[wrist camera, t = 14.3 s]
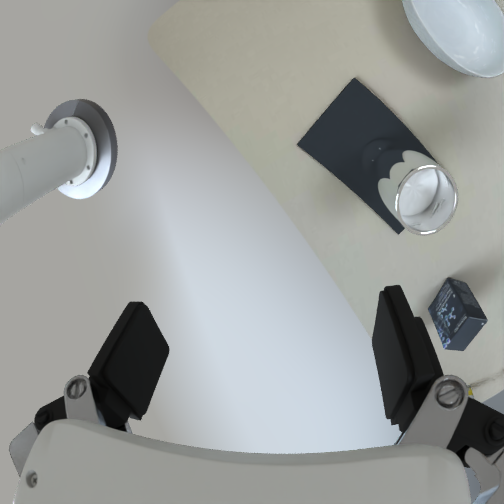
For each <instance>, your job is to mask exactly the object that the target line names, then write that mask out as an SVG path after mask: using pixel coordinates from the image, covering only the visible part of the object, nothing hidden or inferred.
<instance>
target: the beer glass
mask: <svg viewBox="0 0 504 504" xmlns="http://www.w3.org/2000/svg"><path fill="white" fill-rule="evenodd" d="M361 165H362V169H363V171H364V173H365V174H366V176H367V177H368V178H369V179H371V180H372V181H374V182H375V184H376V188H377V190H378V193H379V195H380V197H381V199H382V201H383V202H384V204H385V205H386V207H387V208H388V209H389V211H390V212H391V213H392V214H393V215H394V216H395V218H396V219H397V220H398V221H399V222H400V223H401V224H402V225H403V227H404V228H405V229H407V230H408V231H409V232H411V233H413V234H416V235H430V234H434V233H436V232H438V231H440V230H441V229H443V228H444V227H445V226H446V225H447V224H448V223H449V222H450V220H451V219H452V217H453V215H454V213H455V211H456V208H457V204H458V189H457V185H456V183H455V181H454V179H453V177H452V176H451V174H450V173H449V172H448V171H446V170H445V169H444V168H442V167H441V166H440V165H439V164H437V163H436V162H435V161H433V160H432V159H430V158H429V157H427V156H426V155H424V154H421V153H419V152H417V151H414V150H410V149H403V148H399V147H398V146H397V145H396V144H394V143H393V142H391V141H389V140H386V139H377V140H374V141H372V142H370V143H369V144H368V145H367V146H366V147H365V148H364V150H363V152H362V155H361Z"/></svg>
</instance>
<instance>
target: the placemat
mask: <svg viewBox="0 0 504 504" xmlns="http://www.w3.org/2000/svg"><path fill="white" fill-rule="evenodd" d="M377 139H386V140H389V141H391V142H393V143H394V144H396V145H397V146H398V147H399V148H403V149H410V150H414V151H417V152H419V153H421V154H424V155H426V156H427V157H429V158H430V159H432V160H433V161H435V159H434V158H433V157H432V156H431V155H430V153H429V152H428V151H427V150H426V148H425V147H424V146H423V145H422V144H421V143H420V141H419V140H418V139H417V138H416V137H415V136H414V135H413V134H412V132H411V131H410V130H409V129H408V128H407V127H406V126H405V125H404V124H403V123H402V122H401V121H400V120H399V119H398V118H397V117H396V116H395V115H394V114H393V113H392V112H391V111H390V110H389V109H388V108H387V107H386V106H385V105H384V104H383V103H382V102H381V101H380V100H379V99H378V98H377V97H376V96H375V95H374V94H373V93H371V92H370V91H369V90H368V89H367V88H366V87H365V86H364V85H362V84H361V83H360V82H359V81H358V80H357V79H355V78H353V79H352V80H351V82H350V83H349V84H348V85H347V86H346V87H345V88H344V90H343V91H342V92H341V93H340V94H339V95H338V97H337V98H336V99H335V100H334V101H333V102H332V104H331V105H330V106H329V107H328V108H327V109H326V111H325V112H324V113H323V114H322V115H321V116H320V118H319V119H318V120H317V121H316V122H315V124H314V125H313V126H312V127H311V128H310V129H309V131H308V132H307V133H306V134H305V135H304V137H303V138H302V139H301V140H300V142H299V143H298V144H297V145H298V146H299V147H301V148H302V149H303V150H304V151H306V152H307V153H308V154H309V155H311V156H312V157H313V158H314V159H316V160H317V161H318V162H319V163H321V164H322V165H323V166H324V167H326V168H327V169H328V170H329V171H330V172H332V173H333V174H334V175H335V176H336V177H337V178H339V179H340V180H341V181H342V182H343V183H344V184H345V185H347V186H348V187H349V188H350V189H351V190H352V191H353V192H355V193H356V194H357V195H358V196H359V197H360V198H361V199H362V200H363V201H364V202H365V203H367V204H368V205H369V206H370V207H371V208H372V209H373V210H374V211H375V212H376V213H377V214H378V215H379V216H380V217H381V218H382V219H383V220H384V221H385V222H386V223H387V224H388V225H389V226H390V227H391V228H392V229H393V230H394V231H395V232H396V233H397V234H400V233H401V232H402V231H403V230H404V229H405V228H404V227H403V225H402V224H401V223H400V222H399V221H398V220H397V219H396V218H395V216H394V215H393V214H392V213H391V212H390V211H389V209H388V208H387V207H386V205H385V204H384V202H383V201H382V199H381V197H380V195H379V193H378V190H377V188H376V184H375V182H374V181H372V180H371V179H369V178H368V177H367V176H366V174H365V173H364V171H363V169H362V165H361V155H362V152H363V150H364V148H365V147H366V146H367V145H368V144H369V143H370V142H372V141H374V140H377ZM435 162H436V161H435ZM436 163H437V162H436ZM437 164H438V163H437Z"/></svg>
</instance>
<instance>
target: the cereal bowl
mask: <svg viewBox="0 0 504 504" xmlns="http://www.w3.org/2000/svg"><path fill="white" fill-rule="evenodd" d="M402 3H403V7H404V10H405V13H406V16H407V19H408V20H409V23H410V25H411V26H412V29H413V30H414V32H415V33H416V34H417V36H418V37H419V38H420V40H421V41H422V43H424V45H425V46H426V47H427V48H428V49H429V50H430V51H431V52H432V53H433V54H434V55H435V56H436V57H437V58H438V59H440V60H441V61H442V62H444V63H445V64H447V65H448V66H450V67H452V68H453V69H455V70H457V71H459V72H462V73H464V74H467V75H471V76H475V77H481V78H492V77H496V76H499V75H501V74H502V73H503V72H504V15H503V13H502V11H501V9H500V7H499V6H498V4H497V3H496V1H495V0H402Z"/></svg>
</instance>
